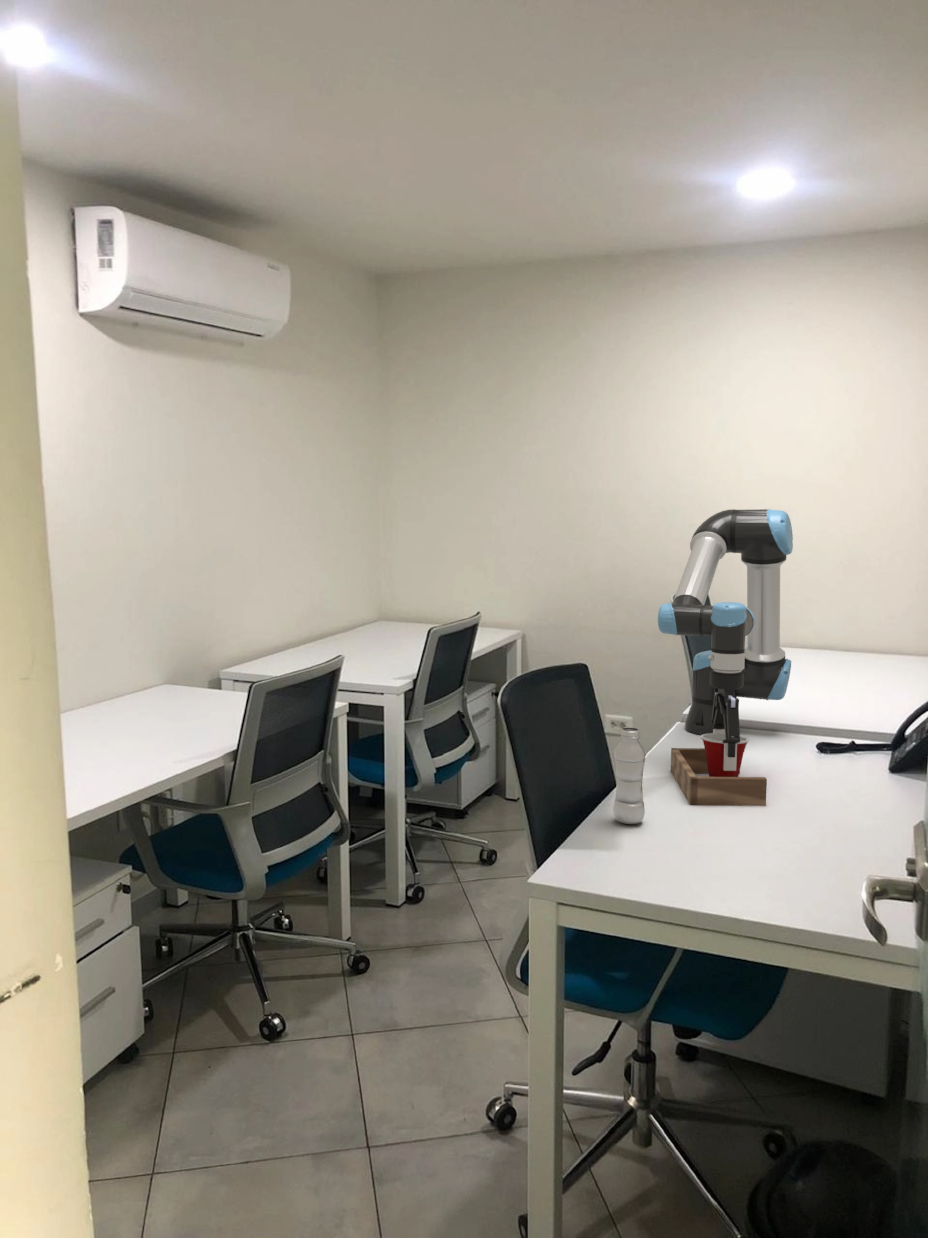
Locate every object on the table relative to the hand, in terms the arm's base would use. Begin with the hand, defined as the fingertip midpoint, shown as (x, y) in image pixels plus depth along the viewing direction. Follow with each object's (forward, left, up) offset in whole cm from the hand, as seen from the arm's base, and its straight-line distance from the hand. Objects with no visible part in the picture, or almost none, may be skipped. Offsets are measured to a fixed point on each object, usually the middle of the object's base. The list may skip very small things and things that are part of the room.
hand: (723, 763), depth 221 cm
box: (0, -1, -6) cm, 6 cm away
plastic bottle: (+24, -25, -6) cm, 35 cm away
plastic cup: (0, 0, -6) cm, 6 cm away
